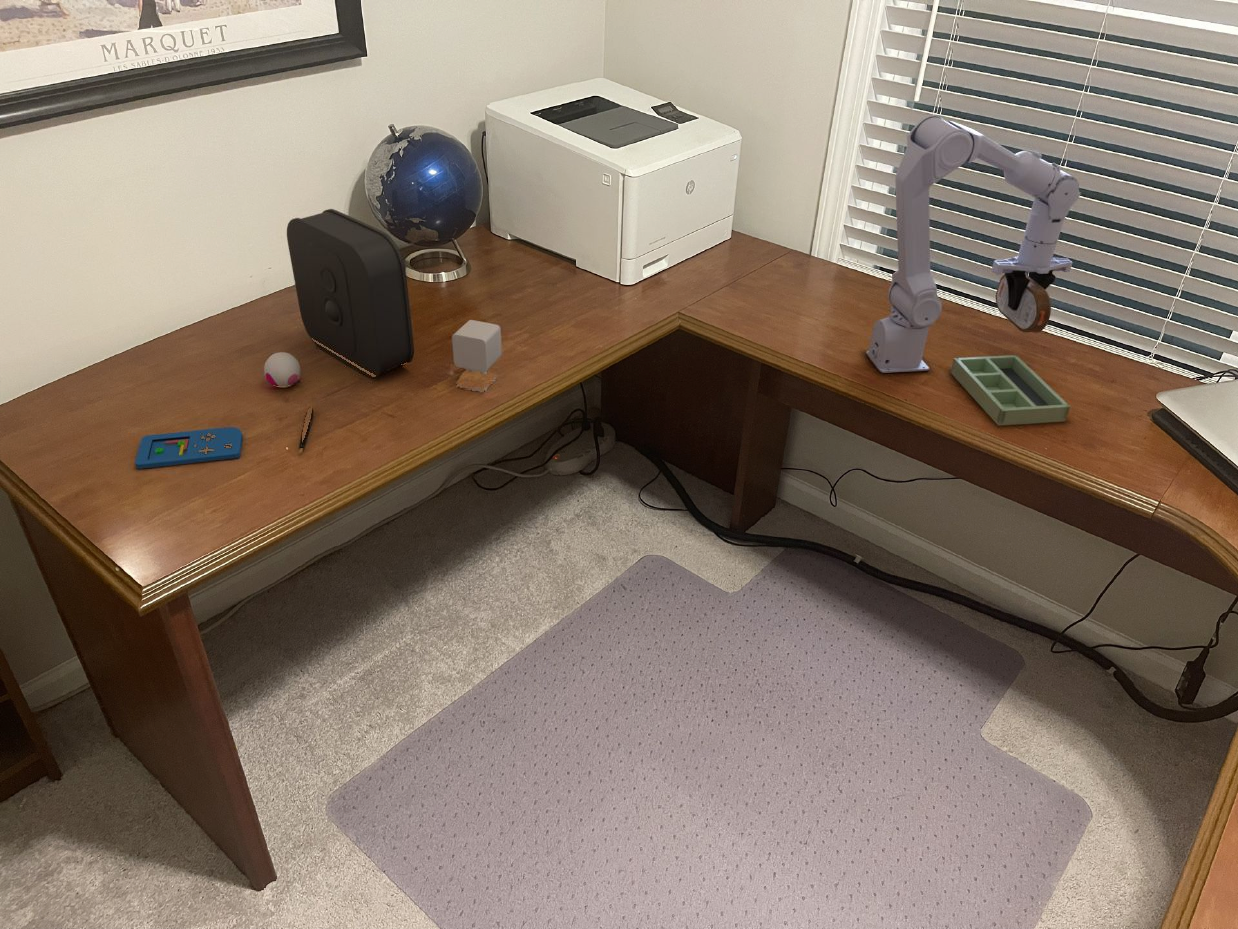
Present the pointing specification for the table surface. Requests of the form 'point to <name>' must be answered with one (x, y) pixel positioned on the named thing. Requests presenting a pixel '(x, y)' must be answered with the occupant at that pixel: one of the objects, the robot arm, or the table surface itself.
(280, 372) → the stress ball
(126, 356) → the table surface
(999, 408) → the organizer
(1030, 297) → the tin
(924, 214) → the robot arm
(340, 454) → the table surface
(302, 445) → the fountain pen
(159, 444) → the handheld gaming device
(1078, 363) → the table surface
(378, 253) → the speaker
